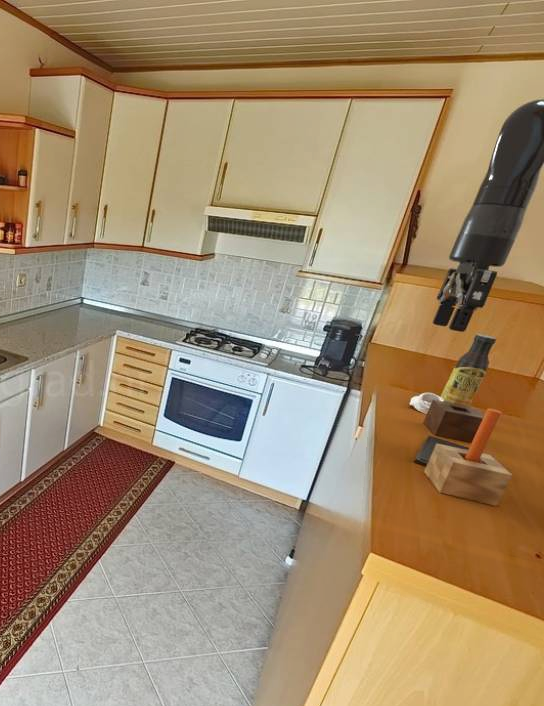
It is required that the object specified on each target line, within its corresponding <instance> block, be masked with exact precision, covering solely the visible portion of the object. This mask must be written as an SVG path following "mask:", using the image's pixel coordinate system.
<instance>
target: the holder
mask: <svg viewBox="0 0 544 706" xmlns="http://www.w3.org/2000/svg"><path fill="white" fill-rule="evenodd" d="M484 415H485V414H483V413H482V412H481V411H480V410H478V409H477V408H476V407H474V406H464V405H459V404H453V403H448V402H443V401H438V400H433V401H432V403H431V405H430V408H429V410H428V413H427V414H425V417H424V420H423V424H424V425H425V427H427V428H428V430H429V431H431V433H432V434H434V436H437V437H441V438H446V439H451V440H455V441H459V442H464V443H465V442H466V443H470V444H471V443H472V441H473V439H474V437H475V435H476V433H477V430H478V428H479V426H480V424H481V422H482V420H483V417H484Z"/></svg>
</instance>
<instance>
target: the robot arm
mask: <svg viewBox="0 0 544 706" xmlns="http://www.w3.org/2000/svg"><path fill="white" fill-rule="evenodd" d="M543 166H544V98H541V99H540V98H539V99H534V100H531V101H528V102H526V103H523V104H522V105H520V106H519V107H517V108H516V109H514V110H513V111H512V112H511V113H510V114H509V115H508V116H507V117H506V119H505V121H504V122H503V124H502V126H501V128H500V130H499V133H498V135H497V139H496V142H495V144H494V148H493V151H492V153H491V158H490V161H489V165H488V167H487V171H486V173H485V175H484V177H483V179H482V181H481V183H480V185H479V188H478V191H477V192H476V195H475V197H474V200H473V201H472V204H471V207H470V209H469V211H468V212H467V214H466V216H465V218H464V220H462V221H463V222H462V224H461V227H460V229H459V231H458V235H457V236H456V238H455V242H454V244H453V247H452V248H451V251H450V253H449V256H448V260H450V261H452V262H455V263H457V262H458V263H459V265H458V266H457V268H451V267H450V268H449V269H448V270H447V274H446V276H445V278H444V280H443V282H442V284H441V287H440V290H439V292H438V295H437V296H436V300H437V301H438V304H439V305H438V307H437V310H436V313H435V314H434V317H433V320H432V324H433V325H435V326H441V327H447V326H448V329H449V330H451V331H454V332H459V333H464V332H466V330H467V328H468V326H469V323H470V321H471V319H472V317H473V315H474V312H476V311H477V310H478V309H479V308H480V309H482V308H483V307H484V306H485V305H486V302H487V299H488V297H489V294H490V292H491V290H492V288H493V285H494V282H495V280H496V278H497V276H498V271H495V270H489V269H490V267H495V268H500V267H503V266H504V265H505V264H506V262H507V260H508V258H509V256H510V253H511V250H512V248H513V246H514V244H515V242H516V239H517V237H518V235H519V233H520V231H521V228H522V225H523V224H524V223H523V222H524V219H525V215H526V212H527V209H528V207H529V206H530V203H531V201H532V199H533V197H534V194H535V192H536V189H537V186H538V183H539V179H540V174H541V171H542V168H543ZM456 307H457V308H456ZM452 315H453V316H452ZM450 320H451V321H450Z"/></svg>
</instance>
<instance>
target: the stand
mask: <svg viewBox="0 0 544 706" xmlns="http://www.w3.org/2000/svg"><path fill="white" fill-rule="evenodd" d="M467 452H468V450H465V449H460V448H456V447H451V446H447V445H442V444H437V443H436V445H435V448H434V450H433V452H432V455H431V457H430V459H429V462H428V464H427V466H425V469H424V471H423V472H424V474H425V475H426V477H427V478H428V479H429V480H430V482H431V483H432V484H433V486H434V487H435V488H436V489H437V491H438V492H439V493H440V494H445V495H448V496H451V497H457V498H461V499H465V500H468V501H473V500H474V501H473V502H477V501H478V503H482V504H486V505H489V506H493V507H497V506H498V505H499V503H500V500H501V499H502V497H503V495H504V493H505V491H506V489H507V487H508V485H509V482H510V480H511V479H512V477H513V474H512V473H511V472H510V471H509V470H507V468H505V467H504V466H503V465H502V464H501V463H500V462H499V461H498V460H496V458H495V457H494V458H493V457H492V456H491V455H492V454H490V455H488V454H489V453H487V454H484V453H485V452H484V453H482V455H481V457H480V459H479V462H478V463H477V462H472V461H468V460H464V459H465V456H466V454H467Z"/></svg>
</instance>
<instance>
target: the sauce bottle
mask: <svg viewBox="0 0 544 706" xmlns="http://www.w3.org/2000/svg"><path fill="white" fill-rule="evenodd" d="M496 341H497V338H496V337H493V336H490V335H485V334H480V333H476V334H475V336H474V337H473V342H472V344H471V346H470V348H469V350H468V351H466V353H464V354H463V355H461V356H460V357H459V359H458V360H457V363H456V365H455V366H454V368H453V370H452V372H451V374H450V376H449V378H448V380H447V381H446V385H445V386H444V388H443V390H442V392H441V395H440V397H441V398H442V399H443V400H444V402H448V403H453V404H459V405H464V406H469V407H471V404H472V402H473V400H474V399H475V396H476V394H477V392H478V390H479V388H480V385H481V383H482V381H483V380H484V378H485V375H486V374H487V371H488V367H489V365H490V361H489V354H490V352H491V349H492V347H493V346H494V344H496Z"/></svg>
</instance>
